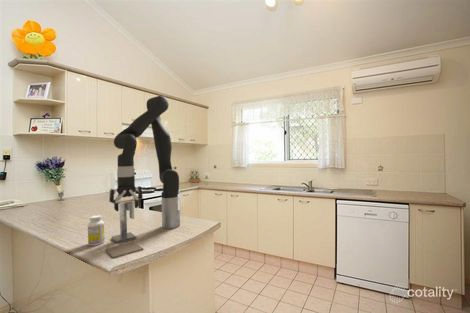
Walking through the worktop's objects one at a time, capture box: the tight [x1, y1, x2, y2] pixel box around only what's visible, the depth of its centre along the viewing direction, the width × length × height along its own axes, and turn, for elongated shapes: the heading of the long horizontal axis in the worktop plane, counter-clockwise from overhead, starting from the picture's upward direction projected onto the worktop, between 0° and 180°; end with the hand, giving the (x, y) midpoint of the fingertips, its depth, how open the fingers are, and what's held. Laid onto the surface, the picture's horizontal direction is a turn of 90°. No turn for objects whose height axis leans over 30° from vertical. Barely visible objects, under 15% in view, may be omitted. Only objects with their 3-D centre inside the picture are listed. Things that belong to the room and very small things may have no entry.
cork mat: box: [105, 240, 144, 259], centre depth 99 cm, size 12×12×1 cm
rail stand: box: [110, 200, 137, 244], centre depth 111 cm, size 9×16×20 cm, turn 42°
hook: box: [118, 200, 135, 221], centre depth 109 cm, size 5×4×8 cm
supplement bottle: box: [87, 214, 105, 247], centre depth 108 cm, size 7×7×13 cm
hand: (126, 209), depth 109 cm, fingers open, 8 cm apart
